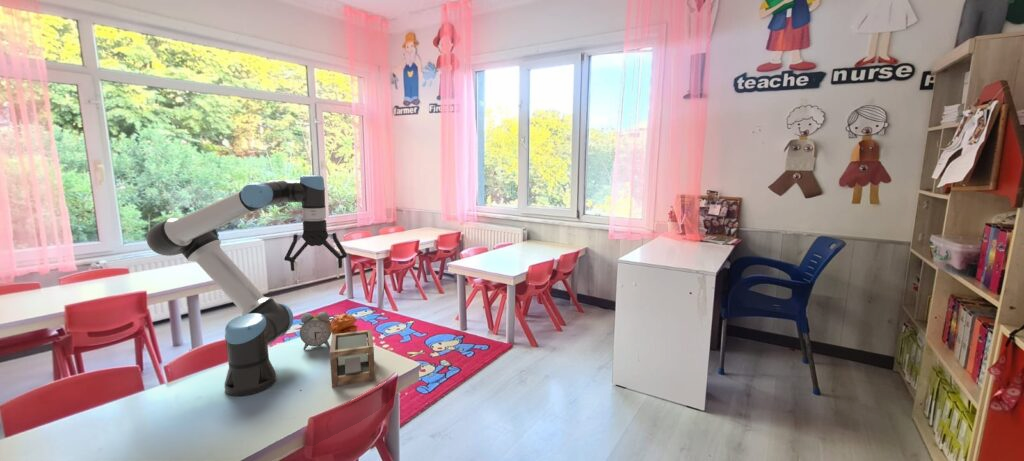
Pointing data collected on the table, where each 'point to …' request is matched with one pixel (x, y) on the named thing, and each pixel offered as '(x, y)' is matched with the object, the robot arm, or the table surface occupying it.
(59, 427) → the table surface
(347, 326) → the orange sculpture
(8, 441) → the table surface
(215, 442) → the table surface
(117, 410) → the table surface
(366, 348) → the frame
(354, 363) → the grey block
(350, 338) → the hatch
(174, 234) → the robot arm
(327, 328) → the alarm clock
